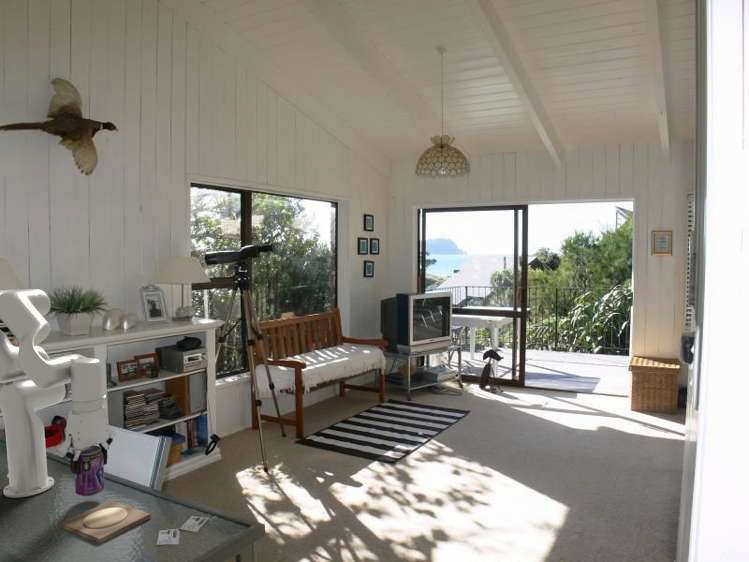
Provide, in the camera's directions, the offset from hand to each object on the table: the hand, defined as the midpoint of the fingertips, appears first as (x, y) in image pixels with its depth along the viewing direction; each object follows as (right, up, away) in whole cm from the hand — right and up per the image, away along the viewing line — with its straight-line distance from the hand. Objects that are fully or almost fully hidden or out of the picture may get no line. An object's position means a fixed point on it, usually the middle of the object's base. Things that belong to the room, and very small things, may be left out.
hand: (89, 467), depth 159 cm
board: (+10, -10, -12) cm, 19 cm away
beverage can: (0, -7, +1) cm, 7 cm away
